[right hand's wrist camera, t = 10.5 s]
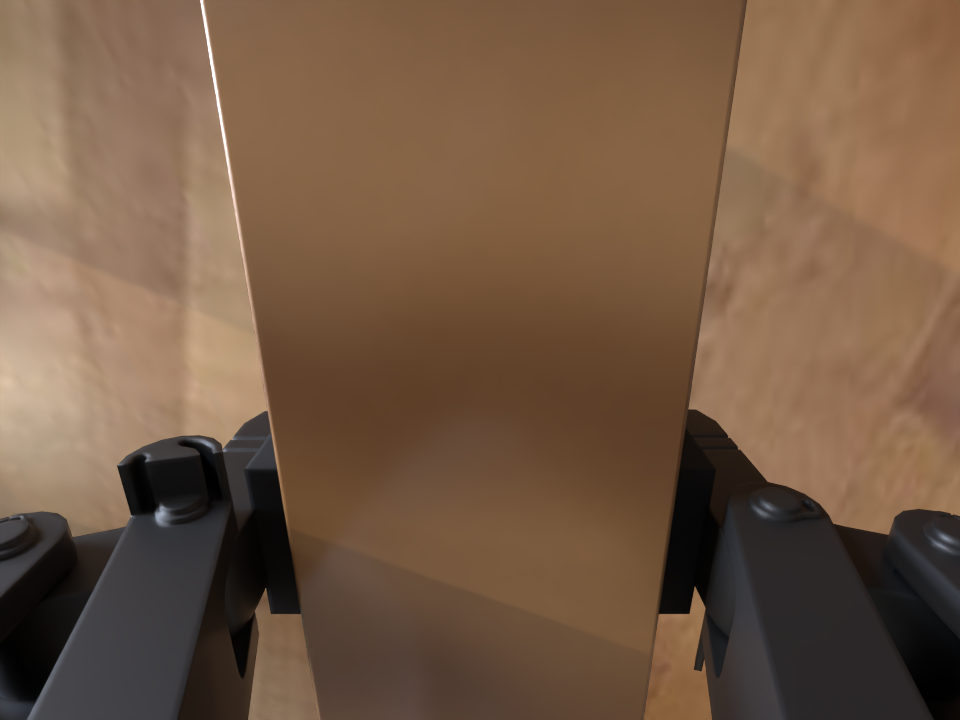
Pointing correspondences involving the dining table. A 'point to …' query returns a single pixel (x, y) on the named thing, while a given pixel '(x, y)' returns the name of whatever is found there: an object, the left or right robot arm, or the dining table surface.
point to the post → (476, 329)
